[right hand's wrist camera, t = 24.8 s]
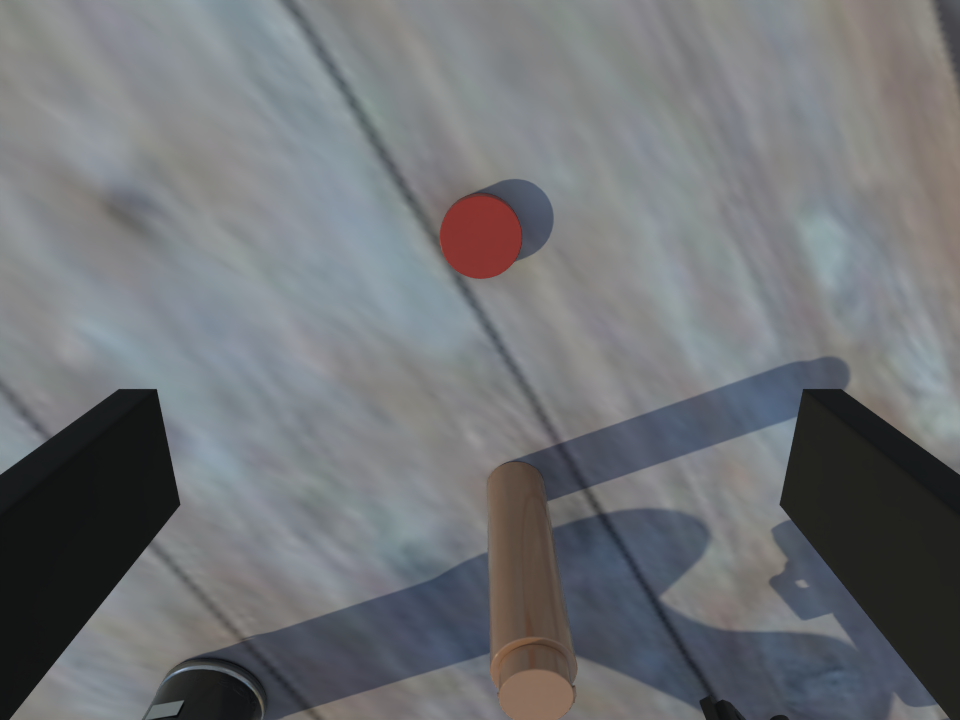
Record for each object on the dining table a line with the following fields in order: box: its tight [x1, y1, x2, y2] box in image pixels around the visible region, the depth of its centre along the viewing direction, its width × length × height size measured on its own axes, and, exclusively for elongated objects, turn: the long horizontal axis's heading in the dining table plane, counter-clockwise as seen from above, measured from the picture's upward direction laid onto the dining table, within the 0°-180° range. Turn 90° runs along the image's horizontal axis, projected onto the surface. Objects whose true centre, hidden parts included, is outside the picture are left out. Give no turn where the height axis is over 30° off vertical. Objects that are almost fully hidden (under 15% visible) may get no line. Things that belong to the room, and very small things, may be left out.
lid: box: [440, 193, 522, 279], centre depth 40 cm, size 5×5×2 cm
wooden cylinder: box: [487, 462, 577, 720], centre depth 38 cm, size 4×4×19 cm
